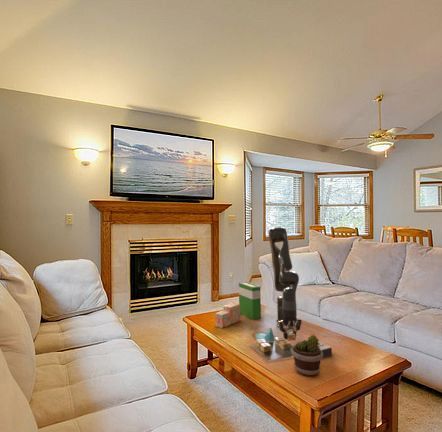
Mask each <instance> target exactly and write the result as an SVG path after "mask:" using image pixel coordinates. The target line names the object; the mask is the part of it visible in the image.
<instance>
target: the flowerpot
mask: <svg viewBox="0 0 442 432" xmlns="http://www.w3.org/2000/svg"><path fill="white" fill-rule="evenodd" d="M302 341H303V342H302ZM296 342H297V343H295V345H292V346H293V347H292V348H291V351H290V352H291V354H292V355H293V356H294V357H293V360H294V363H293V367H294V369H295V370H296V372H297V373H298V374H300V375H302V376H304V377H315V376H317V375H318V374H319V373H320V371H321V369H322V368H321V366H320V364H321V361H322V360H323V358H324V357H323V355H324V354H323V352H322V351H321V350H320V347H318V344H319V343H320V340H319V338H318V336H317V335H316V334H315V333H312V334H310V336H308V337H307V339H303V340H300V341H296ZM298 342H299V343H298ZM300 342H302V343H300Z"/></svg>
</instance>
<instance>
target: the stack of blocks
mask: <svg viewBox="0 0 442 432" xmlns="http://www.w3.org/2000/svg"><path fill="white" fill-rule="evenodd" d="M222 307H223V308H222V310H220V311H218V312H215V320H214V321H215V327H217V328H220V329H223V328H227V327H228V326H230V325H231V326H232V325H233V324H235V323H238V322H240V321H241V314H240V304H239V303H237V302H231V303H228V304H226V305H223V306H222Z"/></svg>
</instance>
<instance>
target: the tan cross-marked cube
mask: <svg viewBox="0 0 442 432" xmlns="http://www.w3.org/2000/svg"><path fill="white" fill-rule="evenodd" d="M296 340H297V334H296V335H295V334H294V333H292V331H287V340H286V341H288V342H290V341H291V342H292V341H296Z"/></svg>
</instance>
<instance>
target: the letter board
mask: <svg viewBox="0 0 442 432" xmlns="http://www.w3.org/2000/svg"><path fill="white" fill-rule="evenodd" d="M251 346H252V348H253V349H254V350H255V351H257V352H258V353H259V354H260V355H261V356H262V357H263V358H264V359H265V360H266V361H273V360H279V359H286V358H292V357H293V358H294V356H293V355H292V354H291V352H290V351H291V348H292V347H293V346H294V345H292V344H291V343H290V341H288V340H286V339H285V338H284V337H283V336H277V337H274V341H269V342H267V340H266V339H255V343H254V344H251Z"/></svg>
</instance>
